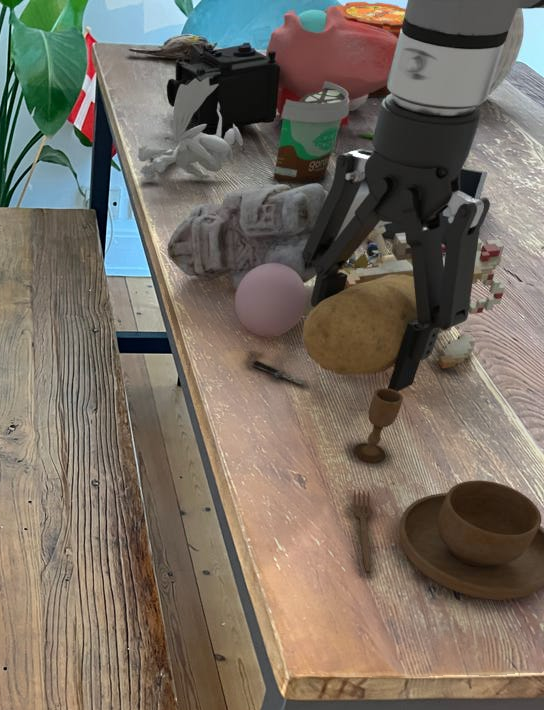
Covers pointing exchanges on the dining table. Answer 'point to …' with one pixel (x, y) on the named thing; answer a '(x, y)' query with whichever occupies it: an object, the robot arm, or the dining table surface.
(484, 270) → the voxel character
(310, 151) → the food container
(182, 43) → the bird model
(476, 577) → the place setting
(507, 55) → the vase
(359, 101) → the mushroom
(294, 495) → the dining table surface
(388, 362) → the potato
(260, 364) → the knife
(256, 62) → the camera
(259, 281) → the lollipop
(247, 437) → the dining table surface
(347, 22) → the toy
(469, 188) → the tray
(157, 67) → the dining table surface
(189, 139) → the fairy figurine
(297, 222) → the figurine
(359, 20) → the food container
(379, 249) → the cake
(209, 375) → the dining table surface
